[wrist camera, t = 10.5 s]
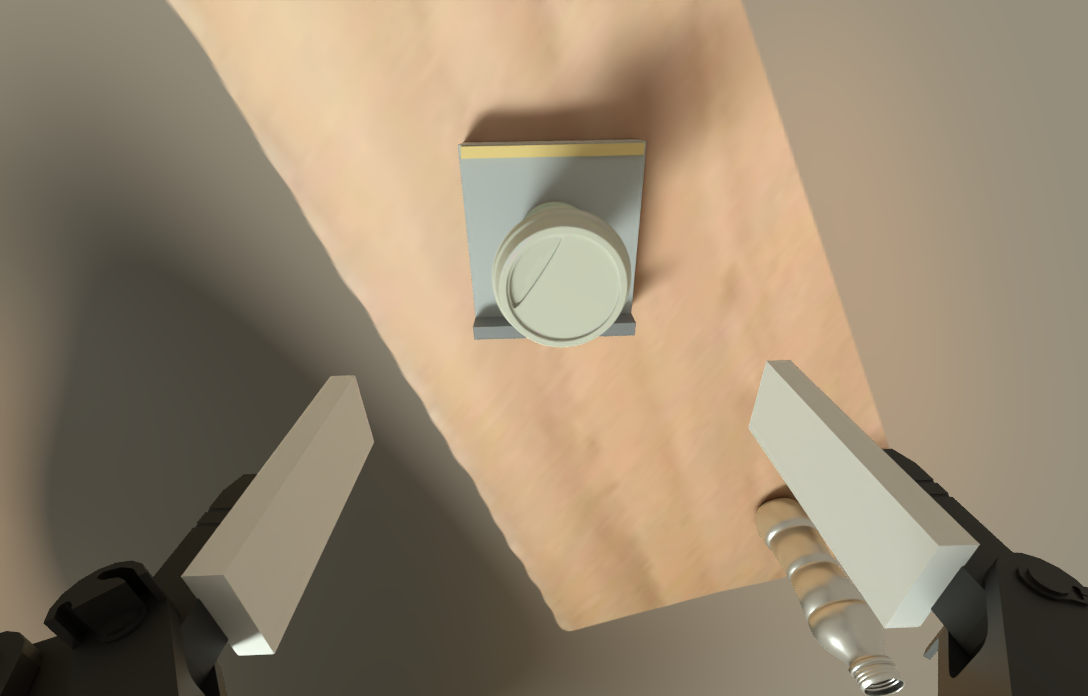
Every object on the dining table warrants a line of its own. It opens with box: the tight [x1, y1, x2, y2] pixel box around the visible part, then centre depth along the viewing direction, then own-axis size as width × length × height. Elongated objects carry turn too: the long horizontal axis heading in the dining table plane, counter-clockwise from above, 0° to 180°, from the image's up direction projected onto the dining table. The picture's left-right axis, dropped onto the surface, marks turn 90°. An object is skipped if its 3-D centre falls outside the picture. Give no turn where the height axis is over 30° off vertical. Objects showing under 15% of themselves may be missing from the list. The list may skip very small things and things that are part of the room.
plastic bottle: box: [755, 498, 906, 696], centre depth 47 cm, size 6×7×20 cm
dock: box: [458, 139, 647, 340], centre depth 36 cm, size 15×14×5 cm
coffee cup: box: [492, 201, 631, 347], centre depth 30 cm, size 8×8×12 cm
